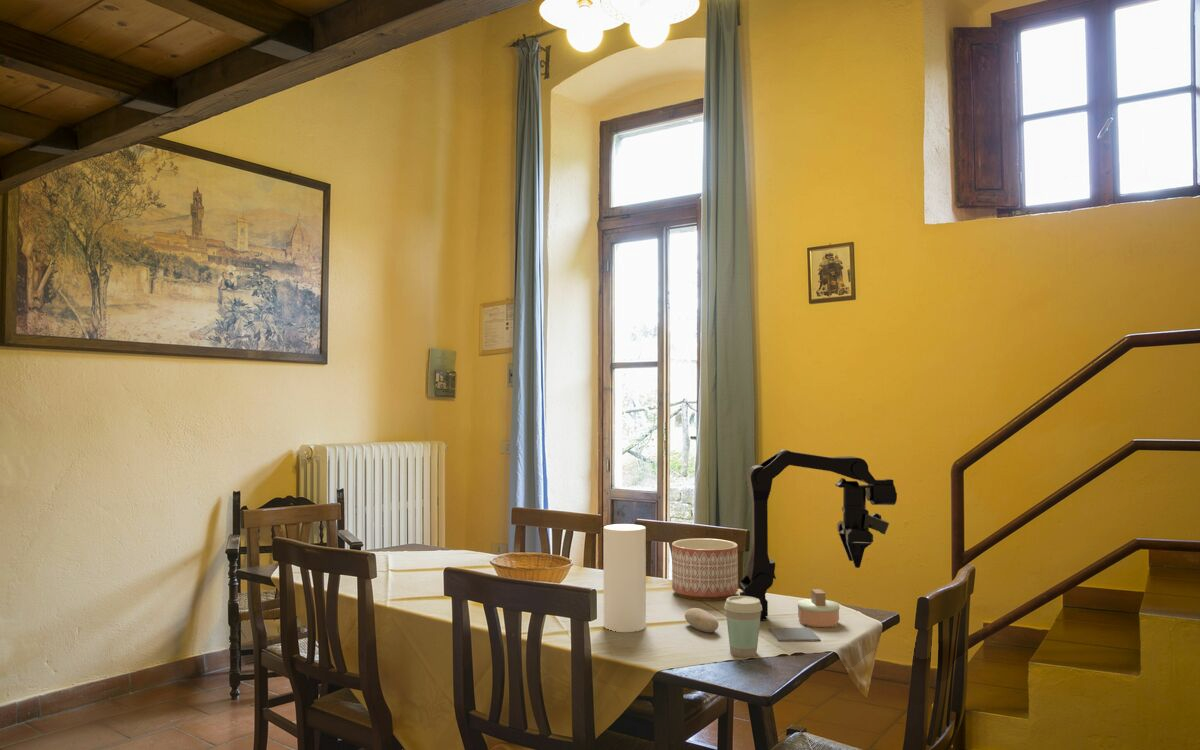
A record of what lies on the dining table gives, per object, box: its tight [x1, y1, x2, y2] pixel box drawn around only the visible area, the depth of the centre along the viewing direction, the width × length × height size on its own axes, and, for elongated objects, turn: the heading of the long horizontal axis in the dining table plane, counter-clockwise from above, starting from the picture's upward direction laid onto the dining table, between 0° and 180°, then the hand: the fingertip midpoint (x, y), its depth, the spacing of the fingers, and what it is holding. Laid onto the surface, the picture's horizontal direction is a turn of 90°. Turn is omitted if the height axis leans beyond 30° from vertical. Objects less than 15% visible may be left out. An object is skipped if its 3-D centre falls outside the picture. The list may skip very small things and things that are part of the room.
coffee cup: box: [723, 595, 762, 658], centre depth 184 cm, size 8×8×12 cm
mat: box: [768, 627, 821, 642], centre depth 198 cm, size 10×10×1 cm
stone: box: [684, 607, 720, 633], centre depth 203 cm, size 6×6×12 cm
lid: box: [797, 588, 841, 612], centre depth 209 cm, size 10×10×4 cm
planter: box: [671, 537, 739, 601], centre depth 240 cm, size 19×19×15 cm
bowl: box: [797, 606, 840, 628], centre depth 209 cm, size 10×10×4 cm
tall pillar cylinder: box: [603, 523, 647, 633], centre depth 206 cm, size 11×11×25 cm
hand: (854, 564), depth 214 cm, fingers open, 9 cm apart
